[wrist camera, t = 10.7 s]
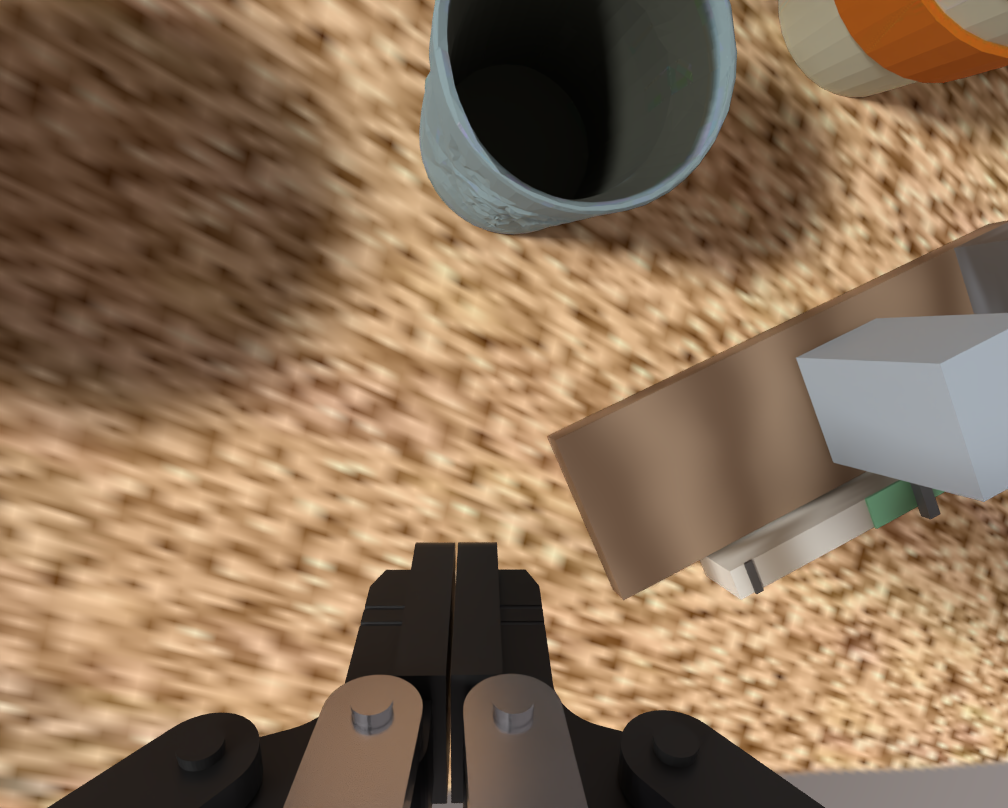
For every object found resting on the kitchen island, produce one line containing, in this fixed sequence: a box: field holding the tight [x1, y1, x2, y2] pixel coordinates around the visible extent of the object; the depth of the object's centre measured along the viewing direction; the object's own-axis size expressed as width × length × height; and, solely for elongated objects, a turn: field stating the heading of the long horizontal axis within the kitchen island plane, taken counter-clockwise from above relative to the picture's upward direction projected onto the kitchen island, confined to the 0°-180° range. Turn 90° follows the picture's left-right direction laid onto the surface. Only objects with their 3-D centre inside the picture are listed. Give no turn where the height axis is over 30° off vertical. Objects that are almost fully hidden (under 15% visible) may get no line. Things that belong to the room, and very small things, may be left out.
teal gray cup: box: [420, 0, 737, 234], centre depth 27 cm, size 10×10×12 cm
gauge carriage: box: [796, 313, 1008, 519], centre depth 32 cm, size 8×10×9 cm
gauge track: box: [547, 221, 1008, 600], centre depth 32 cm, size 28×11×12 cm, turn 114°
